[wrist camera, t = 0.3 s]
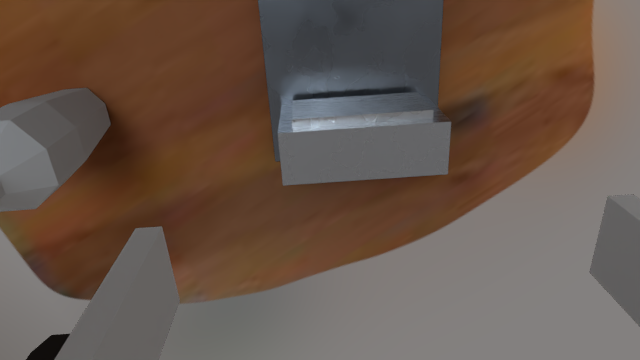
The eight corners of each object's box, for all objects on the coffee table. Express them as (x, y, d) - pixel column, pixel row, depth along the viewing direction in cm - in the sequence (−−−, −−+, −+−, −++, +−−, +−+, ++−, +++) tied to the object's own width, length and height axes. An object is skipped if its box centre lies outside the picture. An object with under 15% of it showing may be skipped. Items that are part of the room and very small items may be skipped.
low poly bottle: (91, 64, 37) (-151, 181, 17) (134, 132, 40) (-32, 302, 20) (26, 95, 38) (-277, 239, 18) (72, 159, 41) (-148, 348, 21)
